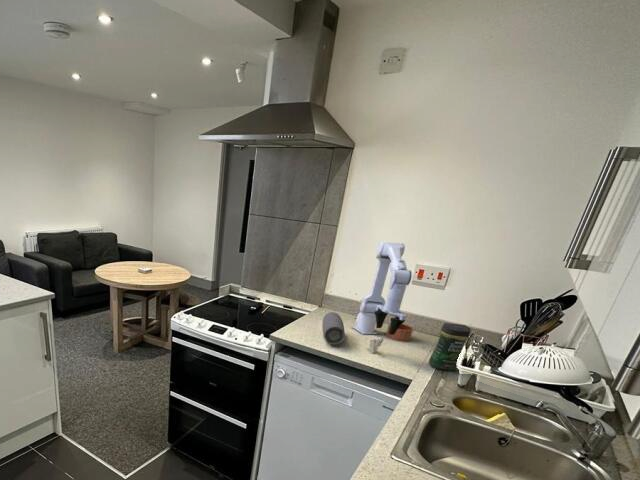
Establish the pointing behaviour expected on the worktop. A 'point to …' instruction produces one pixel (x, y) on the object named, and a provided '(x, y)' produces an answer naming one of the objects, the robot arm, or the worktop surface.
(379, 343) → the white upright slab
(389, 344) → the worktop surface
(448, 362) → the coffee jar
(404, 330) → the reddish brown oval basket
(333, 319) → the bluetooth speaker
